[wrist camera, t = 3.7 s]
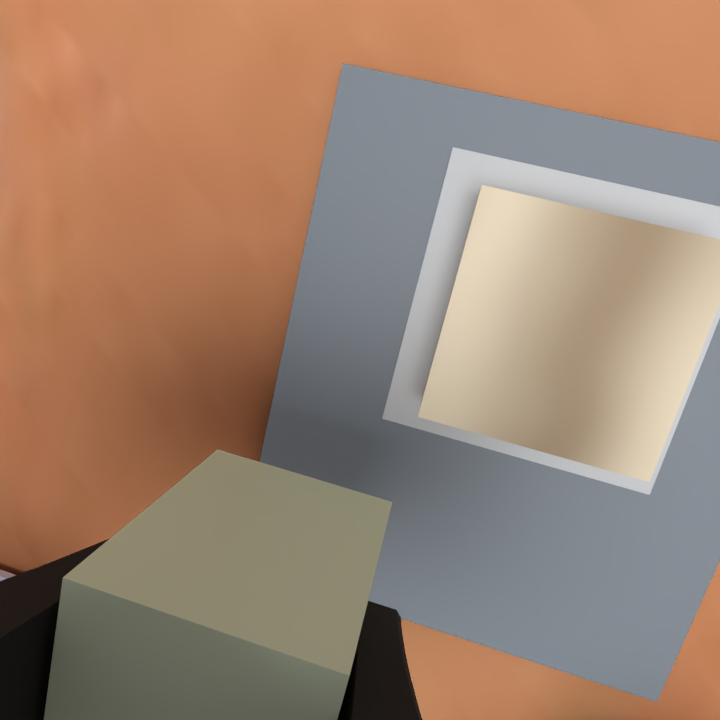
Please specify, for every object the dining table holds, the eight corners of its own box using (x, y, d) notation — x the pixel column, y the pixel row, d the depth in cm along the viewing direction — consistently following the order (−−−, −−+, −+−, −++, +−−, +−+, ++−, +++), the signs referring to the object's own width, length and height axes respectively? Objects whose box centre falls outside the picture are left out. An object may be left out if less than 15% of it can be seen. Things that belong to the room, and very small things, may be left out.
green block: (187, 602, 13) (31, 807, 8) (217, 449, 12) (62, 577, 7) (349, 657, 13) (284, 907, 8) (392, 501, 12) (349, 675, 7)
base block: (422, 397, 17) (417, 416, 15) (478, 192, 15) (481, 184, 13) (626, 453, 16) (649, 482, 14) (704, 245, 14) (743, 244, 12)
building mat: (242, 558, 19) (237, 566, 19) (345, 67, 16) (341, 62, 15) (652, 692, 18) (658, 704, 17) (877, 179, 14) (892, 177, 13)
